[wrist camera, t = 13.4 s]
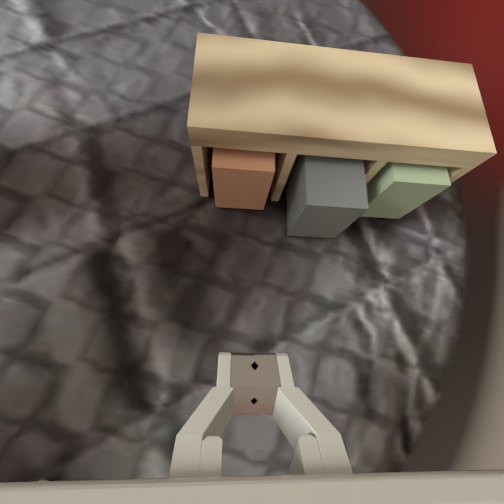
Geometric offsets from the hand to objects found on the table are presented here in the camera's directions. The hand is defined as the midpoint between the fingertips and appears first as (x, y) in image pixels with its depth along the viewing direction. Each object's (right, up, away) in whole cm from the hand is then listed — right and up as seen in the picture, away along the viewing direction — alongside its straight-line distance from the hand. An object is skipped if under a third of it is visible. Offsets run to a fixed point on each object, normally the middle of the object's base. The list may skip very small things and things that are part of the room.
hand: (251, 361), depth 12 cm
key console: (+6, +14, +18) cm, 24 cm away
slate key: (+6, +10, +17) cm, 21 cm away
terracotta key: (-1, +13, +17) cm, 22 cm away
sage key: (+14, +12, +18) cm, 26 cm away
